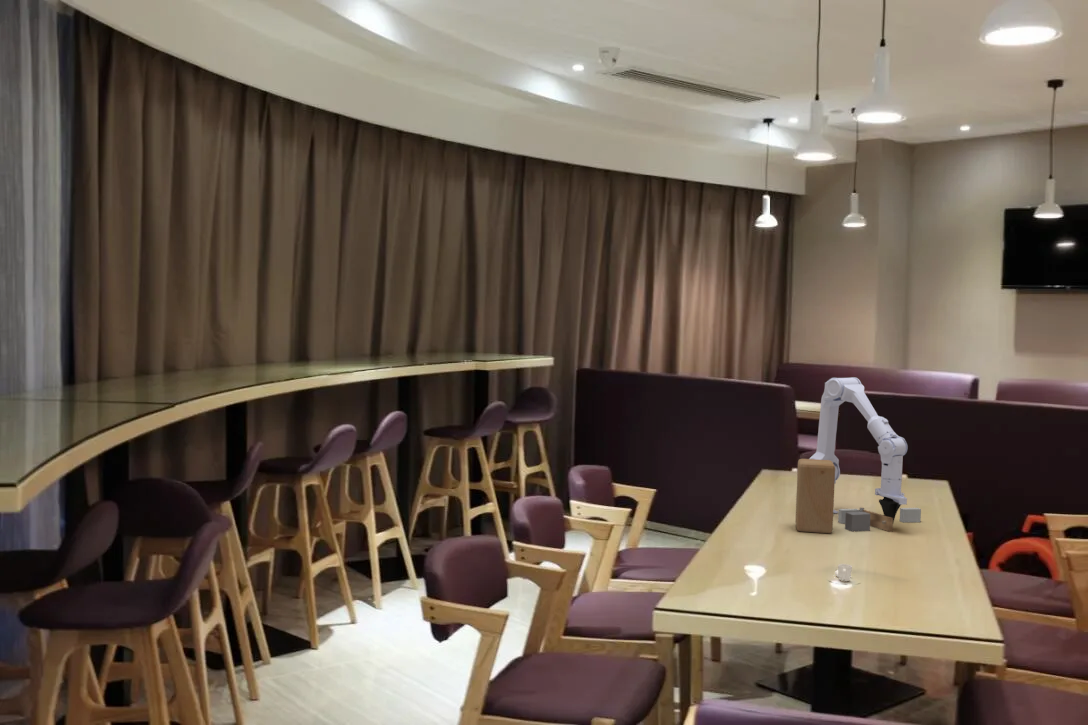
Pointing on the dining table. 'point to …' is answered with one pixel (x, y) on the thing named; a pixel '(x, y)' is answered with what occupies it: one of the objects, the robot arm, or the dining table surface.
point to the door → (880, 521)
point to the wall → (905, 514)
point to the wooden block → (815, 495)
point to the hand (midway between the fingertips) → (889, 523)
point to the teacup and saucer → (844, 572)
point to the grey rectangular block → (857, 521)
